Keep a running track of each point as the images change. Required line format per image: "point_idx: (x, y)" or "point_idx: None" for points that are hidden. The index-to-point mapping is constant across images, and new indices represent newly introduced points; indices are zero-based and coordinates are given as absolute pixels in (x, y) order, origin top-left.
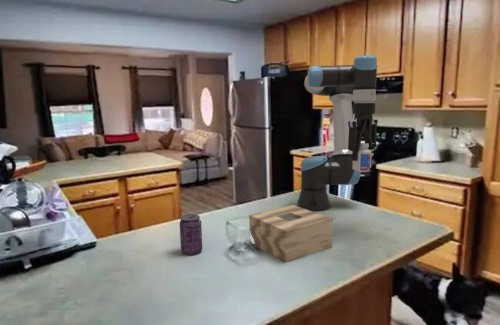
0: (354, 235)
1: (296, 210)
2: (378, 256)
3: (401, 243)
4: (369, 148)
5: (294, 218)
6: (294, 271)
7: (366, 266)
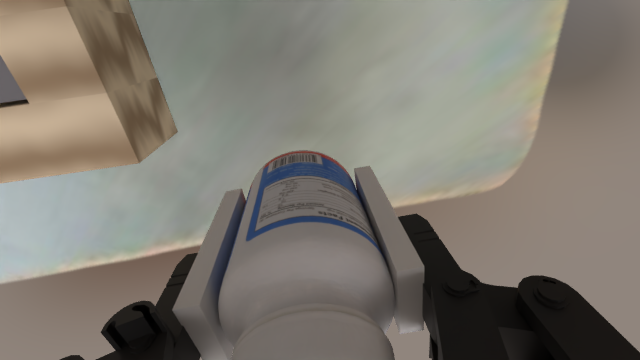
0: (283, 96)
1: (13, 1)
2: None
3: None
4: (429, 323)
5: (1, 66)
6: (37, 195)
7: (198, 233)
